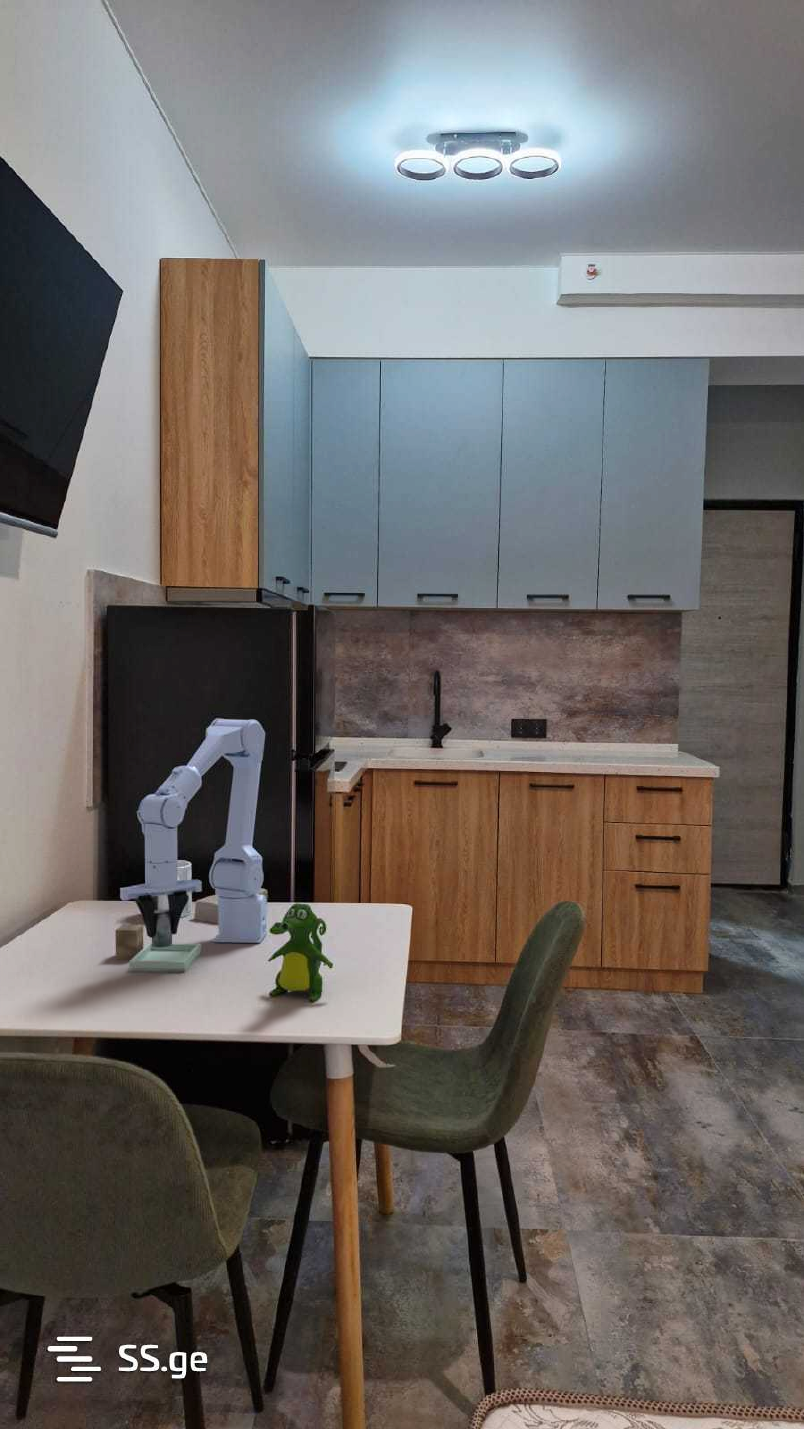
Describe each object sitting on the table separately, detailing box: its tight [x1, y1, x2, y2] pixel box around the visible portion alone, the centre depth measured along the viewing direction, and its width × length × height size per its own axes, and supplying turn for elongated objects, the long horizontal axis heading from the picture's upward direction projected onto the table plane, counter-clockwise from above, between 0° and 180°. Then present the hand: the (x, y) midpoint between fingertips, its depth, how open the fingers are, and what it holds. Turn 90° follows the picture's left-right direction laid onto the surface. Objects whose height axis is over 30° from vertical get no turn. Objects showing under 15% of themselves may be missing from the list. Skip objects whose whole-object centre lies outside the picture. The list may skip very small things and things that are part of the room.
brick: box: [194, 888, 269, 924], centre depth 223 cm, size 16×8×5 cm, turn 152°
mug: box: [151, 859, 193, 918], centre depth 221 cm, size 10×12×11 cm
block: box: [115, 924, 144, 960], centre depth 190 cm, size 4×4×6 cm
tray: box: [128, 942, 202, 973], centre depth 186 cm, size 10×12×2 cm
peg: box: [151, 910, 173, 947], centre depth 183 cm, size 4×4×6 cm
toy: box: [267, 902, 334, 1002], centre depth 168 cm, size 12×19×15 cm, turn 160°
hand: (161, 934), depth 183 cm, fingers closed on peg, 3 cm apart
